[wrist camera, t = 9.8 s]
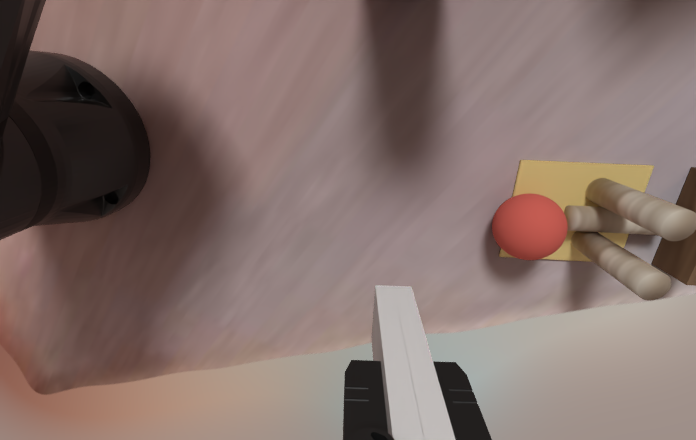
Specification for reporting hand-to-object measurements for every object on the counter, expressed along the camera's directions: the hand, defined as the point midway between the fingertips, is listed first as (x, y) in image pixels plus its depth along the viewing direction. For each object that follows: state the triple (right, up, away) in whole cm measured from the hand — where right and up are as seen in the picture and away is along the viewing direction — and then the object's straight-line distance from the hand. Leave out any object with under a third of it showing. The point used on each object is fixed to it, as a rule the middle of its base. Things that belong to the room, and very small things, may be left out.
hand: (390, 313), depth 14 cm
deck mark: (+20, +5, +19) cm, 28 cm away
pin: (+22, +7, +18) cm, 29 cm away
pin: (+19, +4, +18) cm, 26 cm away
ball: (+14, +3, +16) cm, 22 cm away
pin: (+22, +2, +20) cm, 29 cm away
